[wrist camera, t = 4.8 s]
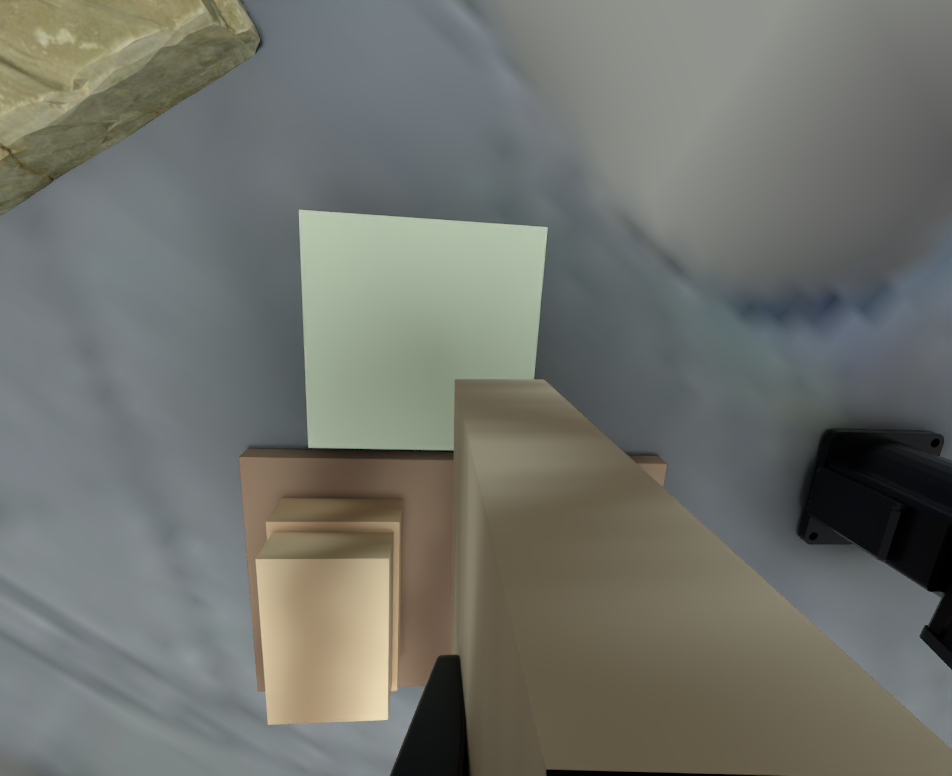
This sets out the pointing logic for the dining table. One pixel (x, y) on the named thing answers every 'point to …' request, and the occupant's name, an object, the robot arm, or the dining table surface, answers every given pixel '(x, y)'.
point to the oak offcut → (350, 519)
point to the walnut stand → (424, 529)
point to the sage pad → (411, 322)
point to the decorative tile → (101, 75)
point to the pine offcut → (326, 625)
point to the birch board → (634, 622)
